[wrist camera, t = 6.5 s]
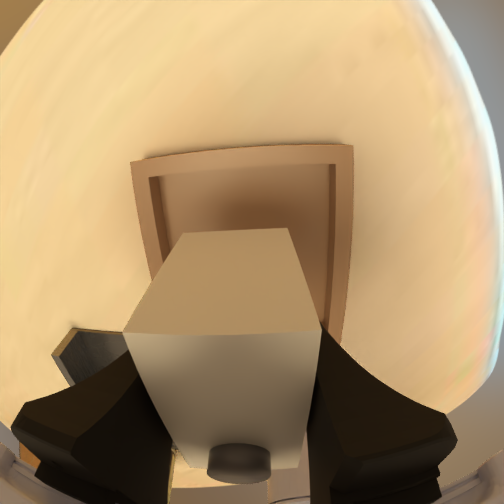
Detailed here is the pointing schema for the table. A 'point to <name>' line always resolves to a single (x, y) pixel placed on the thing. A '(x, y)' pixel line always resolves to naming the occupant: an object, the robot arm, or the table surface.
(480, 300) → the table surface
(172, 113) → the table surface
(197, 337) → the block with grey knob
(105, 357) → the bay
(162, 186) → the tray
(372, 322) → the table surface
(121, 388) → the robot arm
